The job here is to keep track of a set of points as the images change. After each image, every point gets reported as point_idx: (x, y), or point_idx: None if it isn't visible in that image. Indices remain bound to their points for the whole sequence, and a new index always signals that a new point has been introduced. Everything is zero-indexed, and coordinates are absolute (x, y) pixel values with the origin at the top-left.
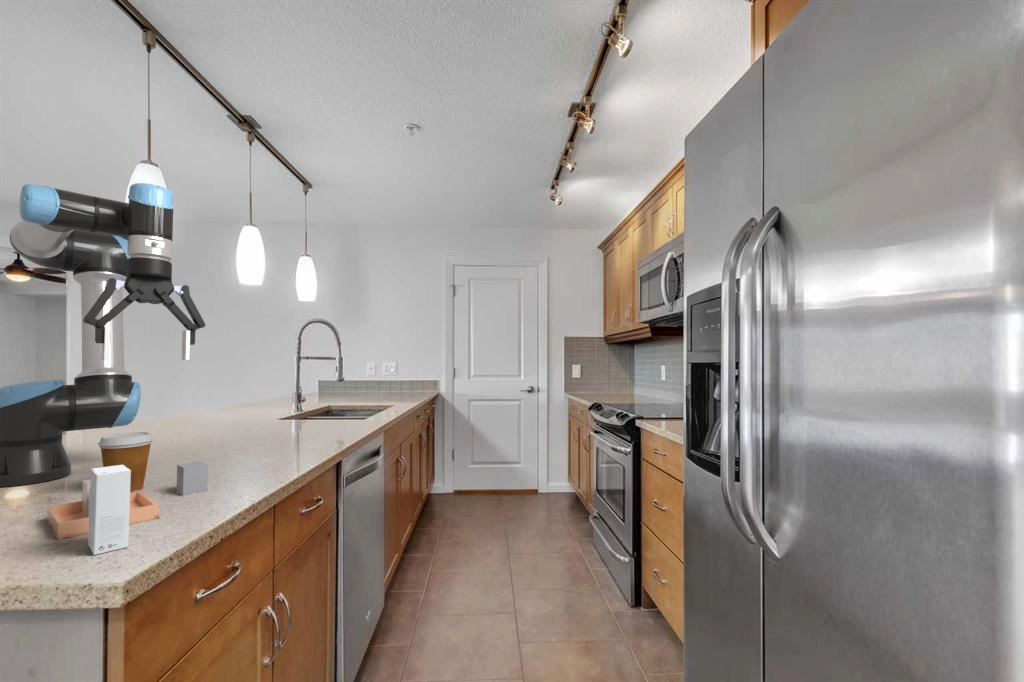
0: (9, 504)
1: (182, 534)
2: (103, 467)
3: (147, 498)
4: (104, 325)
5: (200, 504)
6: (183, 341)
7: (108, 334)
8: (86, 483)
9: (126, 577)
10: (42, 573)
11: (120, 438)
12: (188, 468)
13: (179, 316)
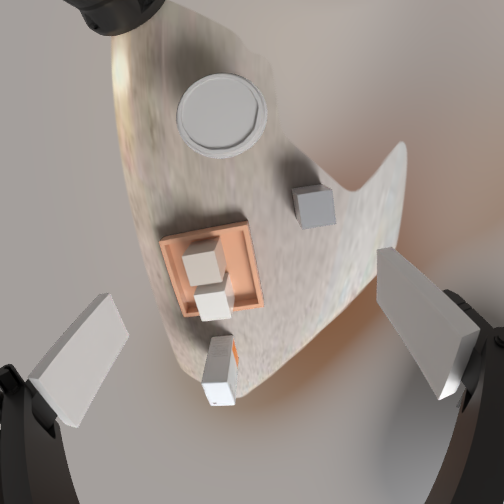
0: (117, 127)
1: (276, 353)
2: (211, 385)
3: (253, 273)
4: (59, 428)
5: (307, 272)
6: (419, 316)
7: (86, 403)
8: (188, 278)
9: (239, 396)
10: (194, 368)
11: (209, 153)
12: (308, 227)
13: (434, 487)
